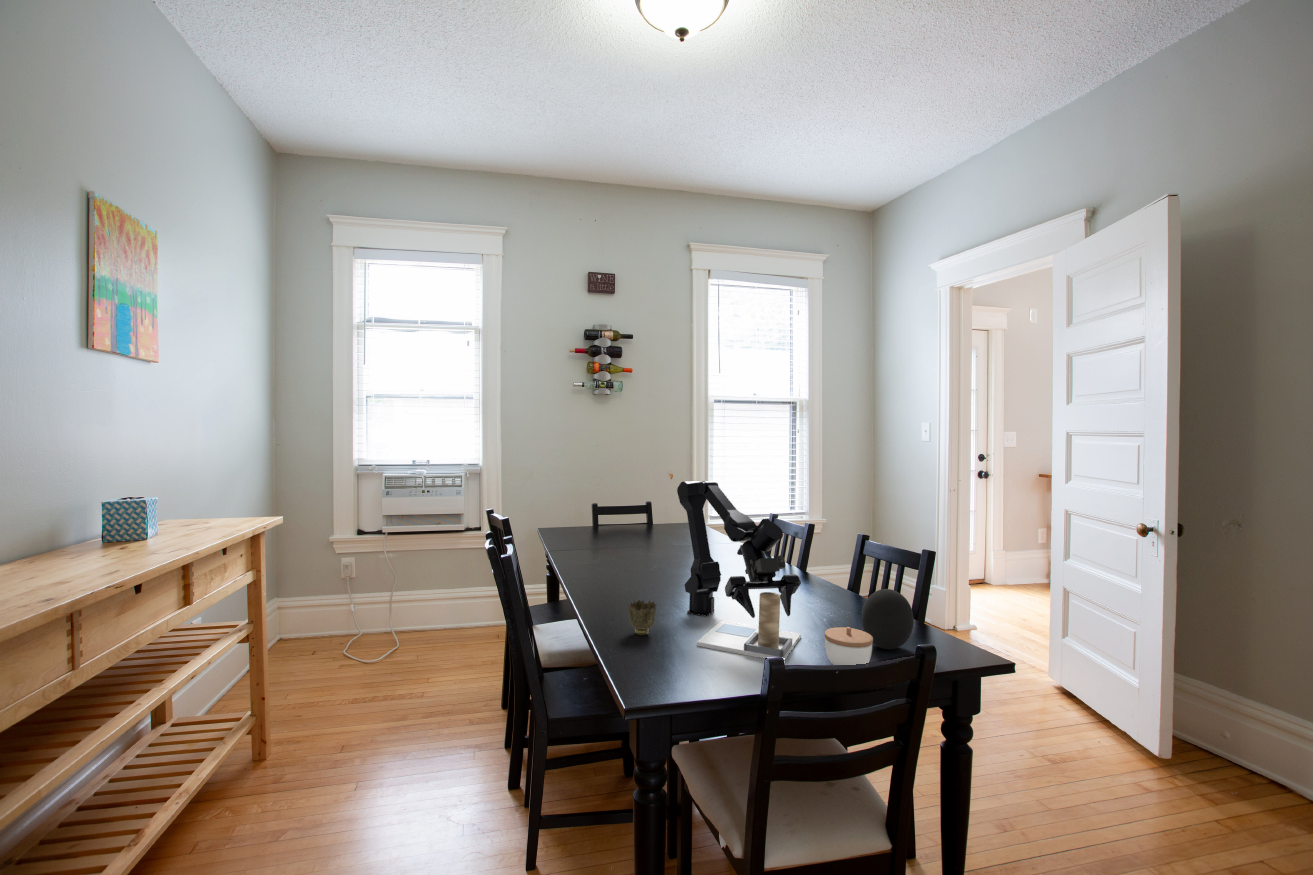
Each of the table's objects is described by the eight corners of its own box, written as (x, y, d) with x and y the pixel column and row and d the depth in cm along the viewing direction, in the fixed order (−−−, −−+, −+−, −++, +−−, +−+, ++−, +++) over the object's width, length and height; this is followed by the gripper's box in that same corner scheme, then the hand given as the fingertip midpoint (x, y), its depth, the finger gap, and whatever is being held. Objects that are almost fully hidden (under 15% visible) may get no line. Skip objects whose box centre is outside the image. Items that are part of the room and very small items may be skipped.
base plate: (696, 645, 152) (696, 635, 152) (721, 624, 169) (722, 615, 169) (783, 662, 143) (783, 651, 143) (800, 637, 160) (800, 628, 160)
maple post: (755, 648, 148) (757, 595, 148) (761, 642, 153) (762, 591, 152) (775, 652, 146) (777, 598, 146) (780, 645, 151) (782, 593, 150)
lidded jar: (836, 678, 134) (837, 636, 134) (815, 659, 145) (817, 620, 145) (881, 676, 136) (882, 634, 136) (857, 657, 147) (858, 619, 146)
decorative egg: (868, 636, 162) (870, 580, 162) (917, 646, 155) (919, 588, 155) (854, 649, 152) (856, 590, 152) (906, 661, 145) (908, 599, 145)
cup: (659, 631, 162) (660, 601, 162) (650, 640, 155) (651, 609, 155) (633, 627, 165) (634, 598, 164) (623, 636, 158) (624, 605, 158)
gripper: (729, 544, 151) (744, 601, 140) (799, 543, 155) (818, 598, 144) (718, 568, 159) (732, 624, 148) (785, 566, 163) (802, 620, 152)
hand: (771, 616), depth 148 cm, fingers open, 9 cm apart
